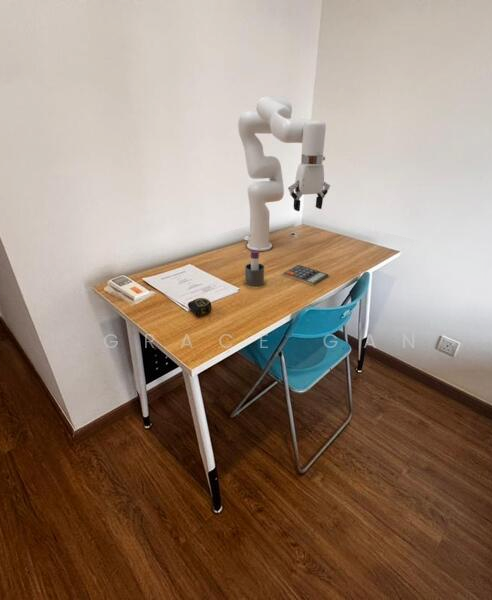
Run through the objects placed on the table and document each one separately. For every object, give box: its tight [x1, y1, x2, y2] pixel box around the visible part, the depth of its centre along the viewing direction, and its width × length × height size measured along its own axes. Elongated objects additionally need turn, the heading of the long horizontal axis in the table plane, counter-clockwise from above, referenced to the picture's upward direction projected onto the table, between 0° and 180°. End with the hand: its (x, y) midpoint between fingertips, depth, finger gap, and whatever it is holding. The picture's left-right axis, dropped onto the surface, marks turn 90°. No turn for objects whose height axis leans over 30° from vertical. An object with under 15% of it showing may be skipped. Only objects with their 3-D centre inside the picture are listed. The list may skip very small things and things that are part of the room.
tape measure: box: [187, 297, 212, 317], centre depth 107 cm, size 7×7×4 cm
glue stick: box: [250, 250, 260, 270], centre depth 123 cm, size 3×3×13 cm
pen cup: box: [244, 262, 265, 288], centre depth 125 cm, size 7×7×8 cm
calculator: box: [283, 264, 329, 286], centre depth 135 cm, size 12×1×15 cm
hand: (307, 209), depth 122 cm, fingers open, 9 cm apart
